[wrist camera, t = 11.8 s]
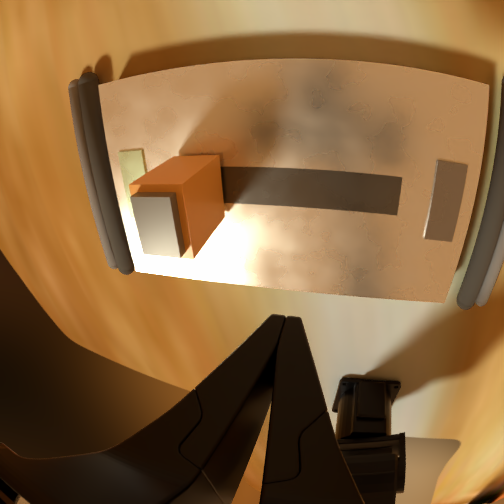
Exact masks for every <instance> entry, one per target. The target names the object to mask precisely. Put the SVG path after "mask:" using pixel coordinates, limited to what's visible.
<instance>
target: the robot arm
mask: <svg viewBox="0 0 504 504" xmlns="http://www.w3.org/2000/svg"><path fill="white" fill-rule="evenodd" d="M400 388H401V383H400V382H399V381H379V380H363V379H349V378H343V379H341V380H340V382H339V386H338V389H337V393H336V396H335V400H334V403H333V407H332V411H333V412H335V413H338V415H337V423H336V432H335V433H334V430H333V427H332V423H331V420H330V416H329V413H328V412H327V406H326V402H325V399H324V395H323V392H322V388H321V384H320V381H319V377H318V374H317V370H316V367H315V363H314V360H313V357H312V353H311V350H310V346H309V343H308V339H307V336H306V333H305V329H304V326H303V323H302V319H301V318H300V317H295V316H287V317H285V316H284V315H277V314H272V315H270V316H269V317H268V318H267V319H266V320H265V321H264V322H263V323H262V324H261V325H260V326H259V327H258V328H257V329H256V330H255V331H254V332H253V333H252V334H251V335H250V336H249V337H248V338H247V339H246V340H245V341H244V342H243V343H242V344H241V345H240V346H239V347H238V348H237V349H236V350H235V351H234V352H232V353H231V354H230V355H229V356H228V357H227V358H226V359H225V360H224V361H223V362H222V363H221V364H220V365H219V366H218V367H217V368H216V369H215V370H214V371H212V372H211V373H210V374H209V375H208V376H207V377H206V378H205V379H204V380H203V381H202V382H201V383H200V384H198V385H197V386H196V387H195V389H196V390H195V389H193V390H192V391H191V392H190V393H188V394H187V395H186V396H185V397H184V398H183V399H182V400H181V401H179V402H178V403H177V404H176V405H175V406H174V407H172V408H171V409H170V410H168V411H167V412H166V413H164V414H163V415H162V416H160V417H159V418H158V419H156V420H155V421H153V422H152V423H150V424H149V425H147V426H146V427H144V428H143V429H141V430H140V431H138V432H137V433H135V434H134V435H132V436H131V437H129V438H128V439H126V440H124V441H123V442H121V443H119V444H118V445H116V446H114V447H112V448H109V449H107V450H104V451H100V452H95V453H89V454H82V455H74V456H66V457H57V458H47V459H29V458H23V457H21V456H18V455H17V454H16V453H14V452H13V451H12V450H11V449H10V448H8V447H7V446H6V445H5V444H3V443H0V504H231V503H232V500H233V498H234V496H235V493H236V491H237V489H238V486H239V484H240V481H241V479H242V477H243V474H244V472H245V469H246V467H247V464H248V462H249V459H250V457H251V454H252V452H253V449H254V446H255V444H256V441H257V439H258V436H259V433H260V431H261V428H262V425H263V423H264V420H265V417H266V415H267V412H268V409H269V406H270V404H271V411H270V421H269V430H268V439H267V447H266V456H265V464H264V473H263V481H262V488H261V495H260V502H259V504H395V498H396V493H403V492H404V485H405V468H406V461H405V460H406V458H405V457H406V454H405V432H404V433H400V434H395V435H391V405H392V403H393V401H394V399H395V397H396V395H397V393H398V392H399V390H400ZM271 401H272V402H271Z"/></svg>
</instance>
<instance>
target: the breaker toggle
mask: <svg viewBox="0 0 504 504" xmlns="http://www.w3.org/2000/svg"><path fill="white" fill-rule="evenodd" d="M129 189H130V194H131V197H130V200H131V204H132V209H133V214H134V218H135V222H136V227H137V231H138V235H139V239H140V243H141V247H142V251H143V255H153V256H162V257H171V258H184V259H195V258H196V256H197V255H198V253H199V252H200V251H201V249H202V248H203V246H204V245H205V244H206V242H207V241H208V239H209V238H210V237H211V235H212V234H213V232H214V231H215V230H216V228H217V227H218V226H219V224H220V223H221V222H222V220H223V219H224V217H225V210H224V200H223V190H222V179H221V168H220V157H219V155H195V156H173V157H172V158H170V159H168V160H167V161H165V162H163V163H162V164H160V165H159V166H157V167H155V168H154V169H152V170H151V171H149V172H147V173H146V174H144V175H143V176H141V177H140V178H138V179H137V180H135V181H133V182H132V183H130V184H129Z"/></svg>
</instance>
